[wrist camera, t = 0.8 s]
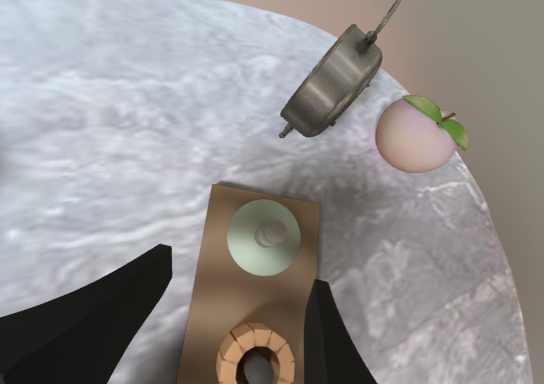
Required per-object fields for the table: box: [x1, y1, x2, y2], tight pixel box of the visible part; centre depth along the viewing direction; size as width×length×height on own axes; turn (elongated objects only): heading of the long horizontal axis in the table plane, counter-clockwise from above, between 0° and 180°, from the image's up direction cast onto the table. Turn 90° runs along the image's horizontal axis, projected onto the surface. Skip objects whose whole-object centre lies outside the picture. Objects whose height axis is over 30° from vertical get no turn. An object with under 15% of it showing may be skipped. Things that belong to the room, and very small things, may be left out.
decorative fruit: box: [376, 95, 468, 173], centre depth 32 cm, size 9×8×10 cm
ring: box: [216, 322, 295, 384], centre depth 23 cm, size 6×6×3 cm
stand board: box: [176, 184, 320, 384], centre depth 24 cm, size 20×12×6 cm, turn 174°
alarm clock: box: [279, 0, 401, 138], centre depth 26 cm, size 11×5×16 cm, turn 144°
